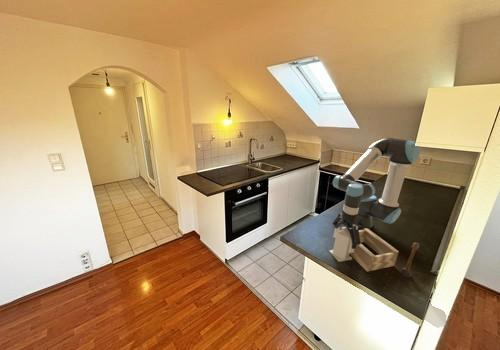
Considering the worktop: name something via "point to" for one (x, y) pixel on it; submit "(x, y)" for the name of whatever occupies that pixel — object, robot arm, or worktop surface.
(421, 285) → the worktop surface
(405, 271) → the wooden tabletop sculpture
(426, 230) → the worktop surface
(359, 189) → the robot arm
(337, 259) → the place mat
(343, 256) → the milk carton
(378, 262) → the crate
